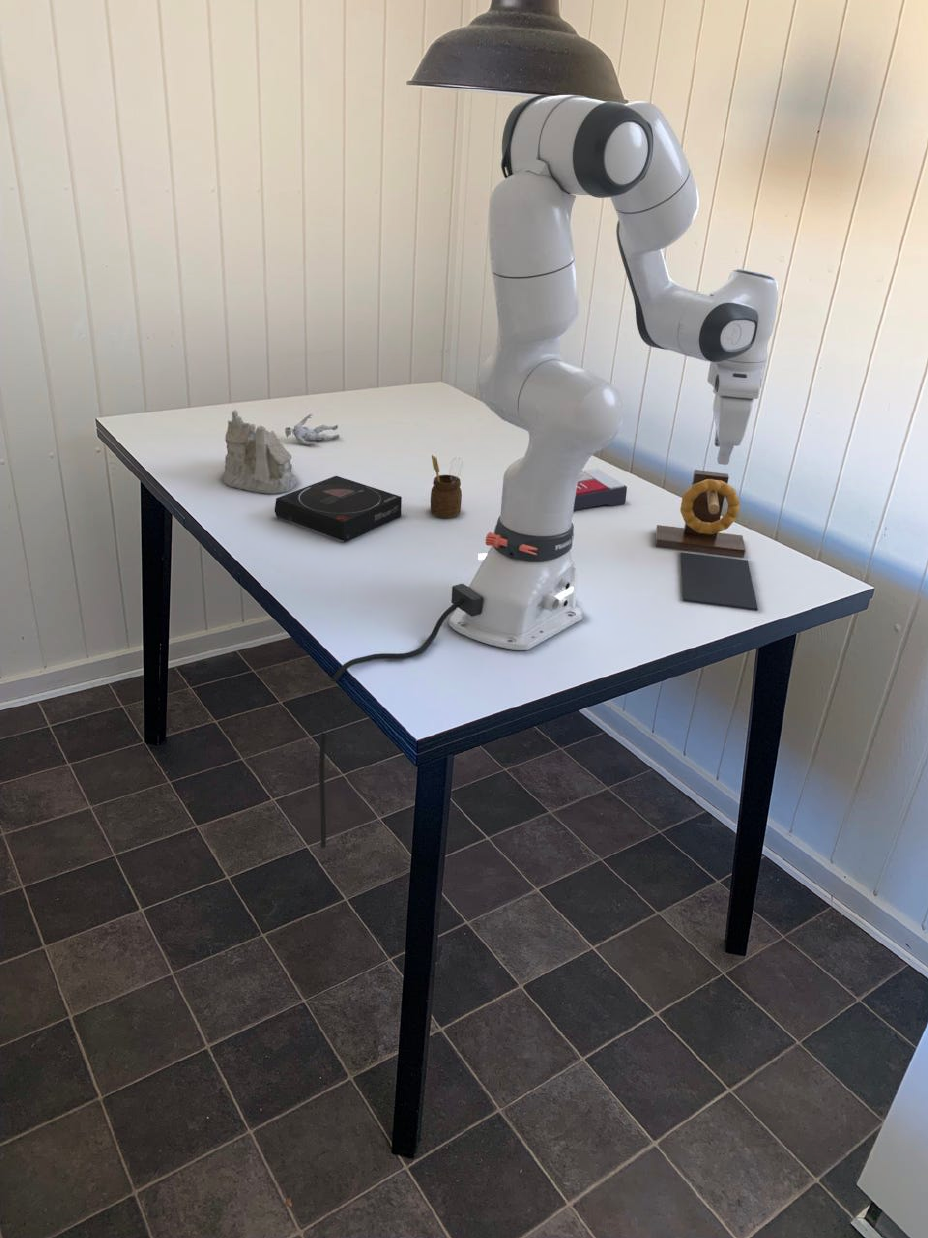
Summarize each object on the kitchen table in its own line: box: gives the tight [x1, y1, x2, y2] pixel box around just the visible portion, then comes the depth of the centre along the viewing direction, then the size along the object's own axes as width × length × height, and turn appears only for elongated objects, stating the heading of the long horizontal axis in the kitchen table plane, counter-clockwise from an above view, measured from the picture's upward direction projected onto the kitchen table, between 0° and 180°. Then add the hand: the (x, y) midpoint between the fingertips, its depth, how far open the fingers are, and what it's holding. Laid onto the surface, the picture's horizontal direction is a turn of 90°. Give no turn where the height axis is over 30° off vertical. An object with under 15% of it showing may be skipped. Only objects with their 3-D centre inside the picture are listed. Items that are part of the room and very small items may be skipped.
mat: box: [680, 551, 759, 611], centre depth 165 cm, size 19×12×1 cm, turn 170°
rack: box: [655, 469, 746, 558], centre depth 171 cm, size 16×16×14 cm
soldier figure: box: [284, 413, 340, 446], centre depth 216 cm, size 8×5×12 cm
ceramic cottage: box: [222, 409, 297, 495], centre depth 193 cm, size 16×16×15 cm
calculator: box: [573, 468, 628, 511], centre depth 195 cm, size 11×4×15 cm
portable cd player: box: [273, 475, 403, 544], centre depth 179 cm, size 16×17×4 cm
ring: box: [679, 479, 741, 534], centre depth 169 cm, size 10×2×10 cm, turn 80°
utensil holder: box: [430, 454, 464, 519], centre depth 182 cm, size 6×6×12 cm
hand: (720, 454), depth 164 cm, fingers open, 8 cm apart
